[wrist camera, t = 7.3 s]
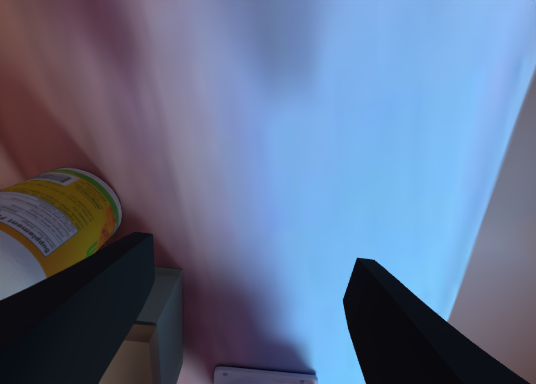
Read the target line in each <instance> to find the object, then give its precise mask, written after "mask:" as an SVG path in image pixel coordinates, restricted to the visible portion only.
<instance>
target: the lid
mask: <svg viewBox="0 0 536 384" xmlns="http://www.w3.org/2000/svg"><path fill="white" fill-rule="evenodd" d="M99 384H160V369H159V354H158V339H157V326H150V325H140V324H133V326H132V328H131V330H130V331H129V333H128V335H127V336H126V338H125V340H124V341H123V343H122V345H121V346H120V348H119V350H118V351H117V353H116V355H115V356H114V358H113V360H112V361H111V363H110V365H109V367H108V368H107V370H106V372H105V373H104V375H103V377H102V378H101V380H100V382H99Z"/></svg>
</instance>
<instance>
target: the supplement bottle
mask: <svg viewBox="0 0 536 384" xmlns="http://www.w3.org/2000/svg"><path fill="white" fill-rule="evenodd" d="M121 219H122V210H121V205H120V202H119V200H118V198H117V196H116V194H115V193H114V191H113V190H112V189H111V188H110V187H109V186H108V185H107V184H106V183H105V182H104V181H103V180H101V179H100V178H98V177H97V176H95V175H93V174H91V173H89V172H86V171H83V170H80V169H75V168H59V169H55V170H51V171H49V172H45V173H43V174H40V175H38V176H35V177H33V178H31V179H28V180H26V181H23V182H21V183H18V184H16V185H14V186H11V187H9V188H6V189H4V190H2V191H0V300H2V299H4V298H7V297H9V296H11V295H13V294H15V293H17V292H20V291H22V290H24V289H26V288H28V287H30V286H32V285H34V284H36V283H38V282H40V281H42V280H44V279H46V278H48V277H50V276H52V275H54V274H56V273H58V272H60V271H62V270H64V269H66V268H68V267H70V266H72V265H74V264H76V263H77V262H79V261H81V260H83V259H85V258H87V257H89V256H90V255H92V254H94V253H95V252H96V251H97V250H98V249H99V248H100V247H101V246H102V245H103V244H104V243H105V242H106V241H107V240H108V239H109V238H110V237H111V236H112V235H113V234H114V233H115V232H116V231H117V229H118V228H119V226H120V223H121Z"/></svg>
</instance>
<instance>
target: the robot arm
mask: <svg viewBox="0 0 536 384" xmlns="http://www.w3.org/2000/svg"><path fill="white" fill-rule="evenodd" d="M154 282H155V268H154V251H153V234H148V233H140V232H133V233H131V234H129V235H127V236H125V237H123V238H122V239H120V240H118V241H116V242H114V243H112V244H111V245H109V246H107V247H105V248H103V249H101V250H100V251H98V252H96V253H94V254H92V255H90V256H89V257H87V258H85V259H83V260H81V261H79V262H77V263H76V264H74V265H72V266H70V267H68V268H66V269H64V270H62V271H60V272H58V273H56V274H54V275H52V276H50V277H48V278H46V279H44V280H42V281H40V282H38V283H36V284H34V285H32V286H30V287H28V288H26V289H24V290H22V291H20V292H17V293H15V294H13V295H11V296H9V297H7V298H4V299H2V300H0V384H99V382H100V380H101V378H102V377H103V375H104V373H105V372H106V370H107V368H108V367H109V365H110V363H111V361H112V360H113V358H114V356H115V355H116V353H117V351H118V350H119V348H120V346H121V345H122V343H123V341H124V340H125V338H126V336H127V335H128V333H129V331H130V330H131V328H132V326H133V324H134V323H135V321H136V319H137V318H138V316H139V314H140V312H141V311H142V309H143V307H144V305H145V303H146V300H147V298H148V296H149V294H150V291H151V289H152V287H153V284H154ZM343 305H344V310H345V316H346V320H347V325H348V330H349V333H350V336H351V339H352V343H353V346H354V349H355V352H356V355H357V358H358V361H359V364H360V367H361V370H362V373H363V376H364V379H365V382H366V384H530V383H528V382H527V381H526V380H524V379H523V378H521V377H520V376H518V375H517V374H515V373H514V372H513V371H511V370H510V369H508V368H507V367H506V366H504V365H503V364H502V363H500V362H499V361H497V360H496V359H495V358H493V357H492V356H490V355H489V354H488V353H486V352H485V351H483V350H482V349H481V348H479V347H478V346H477V345H476V344H474V343H473V342H472V341H470V340H469V339H468V338H466V337H465V336H464V335H463V334H461V333H460V332H459V331H458V330H456V329H455V328H454V327H453V326H451V325H450V324H449V323H448V322H446V321H445V320H444V319H443V318H441V317H440V316H439V315H438V314H437V313H435V312H434V311H433V310H432V309H431V308H430V307H428V306H427V305H426V304H425V303H424V302H423V301H421V300H420V299H419V298H418V297H417V296H416V295H414V294H413V293H412V292H411V291H410V290H409V289H408V288H406V287H405V286H404V285H403V284H402V283H401V282H400V281H399V280H397V279H396V278H395V277H394V276H393V275H392V274H391V273H389V272H388V271H387V270H386V269H385V268H384V267H382V266H381V265H380V264H379V263H377V262H376V261H375V260H372V259H364V258H357V259H356V262H355V265H354V268H353V271H352V274H351V277H350V280H349V283H348V286H347V289H346V292H345V295H344V298H343ZM213 384H318V379H317V377H316V376H315V375H307V374H296V373H286V372H275V371H265V370H254V369H243V368H233V367H222V366H219V367H216V368H215V372H214V383H213Z"/></svg>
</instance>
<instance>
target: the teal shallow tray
mask: <svg viewBox="0 0 536 384" xmlns="http://www.w3.org/2000/svg"><path fill="white" fill-rule="evenodd" d="M154 268H155V282H154V284H153V287H152V289H151V291H150V294H149V296H148V298H147V300H146V303H145V305H144V307H143V309H142V311H141V312H140V314H139V316H138V318H137V319H136V321H135V323H134V324H140V325H150V326H157V339H158V354H159V369H160V384H176V383H177V380H178V377H179V374H180V371H181V367H182V364H183V334H182V269H173V268H164V267H155V266H154Z"/></svg>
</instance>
